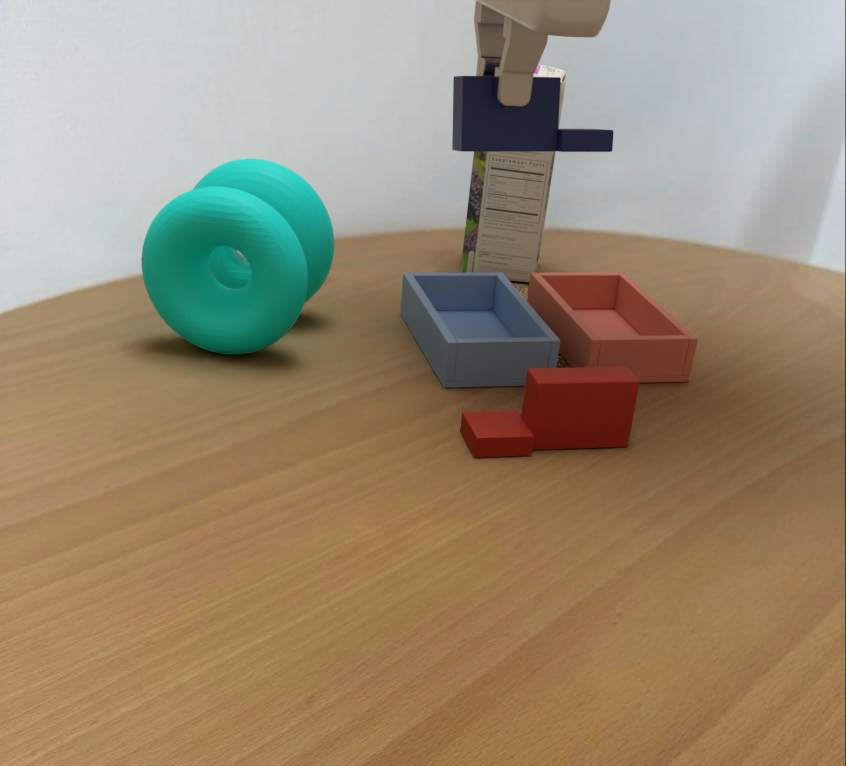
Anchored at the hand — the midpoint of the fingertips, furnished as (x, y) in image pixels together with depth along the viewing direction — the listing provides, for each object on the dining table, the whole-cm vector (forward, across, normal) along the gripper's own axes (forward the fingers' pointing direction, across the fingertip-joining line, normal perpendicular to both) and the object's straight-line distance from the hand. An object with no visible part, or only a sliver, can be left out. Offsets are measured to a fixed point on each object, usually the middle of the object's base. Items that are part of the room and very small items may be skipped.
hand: (501, 96), depth 66 cm
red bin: (+15, 0, -9) cm, 18 cm away
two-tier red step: (+15, -13, -1) cm, 20 cm away
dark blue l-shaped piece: (+3, -1, -2) cm, 4 cm away
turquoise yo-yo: (+16, +4, +14) cm, 22 cm away
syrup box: (+16, +16, -7) cm, 23 cm away
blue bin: (+15, 0, 0) cm, 16 cm away
